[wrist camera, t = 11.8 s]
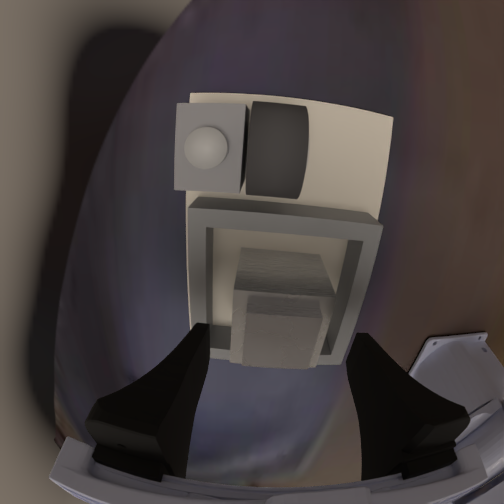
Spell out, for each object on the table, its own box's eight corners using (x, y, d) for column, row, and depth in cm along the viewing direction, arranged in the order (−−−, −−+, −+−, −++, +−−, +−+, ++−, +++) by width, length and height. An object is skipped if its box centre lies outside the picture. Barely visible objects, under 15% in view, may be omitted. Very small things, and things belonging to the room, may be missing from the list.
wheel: (303, 110, 14) (318, 102, 10) (295, 189, 16) (306, 211, 12) (254, 105, 14) (251, 95, 10) (249, 185, 16) (243, 205, 12)
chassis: (387, 117, 15) (433, 116, 10) (340, 338, 22) (355, 387, 17) (193, 94, 15) (163, 80, 10) (192, 328, 22) (176, 378, 17)
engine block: (319, 254, 18) (340, 307, 12) (306, 317, 20) (317, 377, 15) (241, 247, 18) (231, 298, 12) (236, 311, 20) (228, 372, 15)
